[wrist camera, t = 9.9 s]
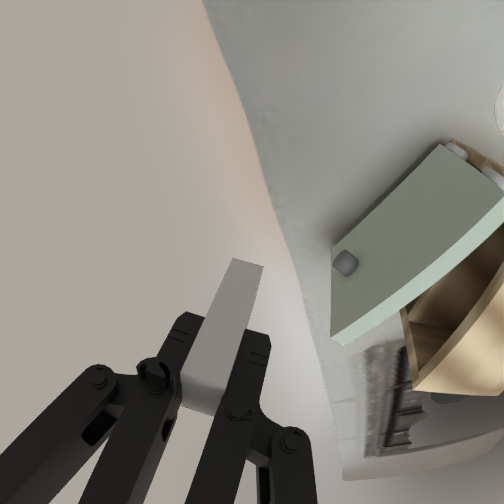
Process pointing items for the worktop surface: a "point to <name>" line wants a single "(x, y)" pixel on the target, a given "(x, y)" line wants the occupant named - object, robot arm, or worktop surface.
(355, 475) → the worktop surface
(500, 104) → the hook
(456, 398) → the jar
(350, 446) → the worktop surface
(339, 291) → the door
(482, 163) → the cabinet
